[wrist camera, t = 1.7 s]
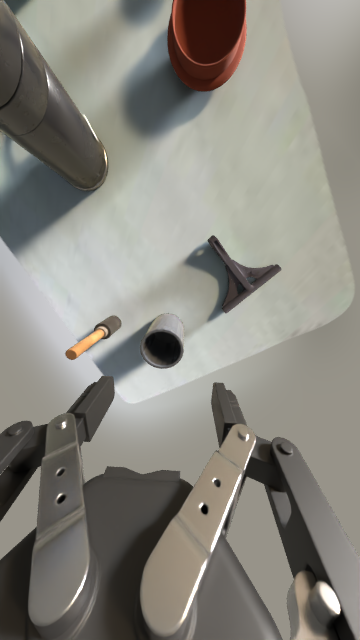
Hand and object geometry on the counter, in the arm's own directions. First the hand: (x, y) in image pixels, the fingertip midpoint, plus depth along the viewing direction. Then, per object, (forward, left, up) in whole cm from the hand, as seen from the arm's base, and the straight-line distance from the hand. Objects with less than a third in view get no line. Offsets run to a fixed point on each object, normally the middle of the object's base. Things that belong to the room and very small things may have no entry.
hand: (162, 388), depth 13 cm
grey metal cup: (+1, -6, -27) cm, 28 cm away
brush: (-11, -12, -27) cm, 32 cm away
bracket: (+5, +14, -28) cm, 31 cm away
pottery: (-22, +40, -28) cm, 54 cm away
